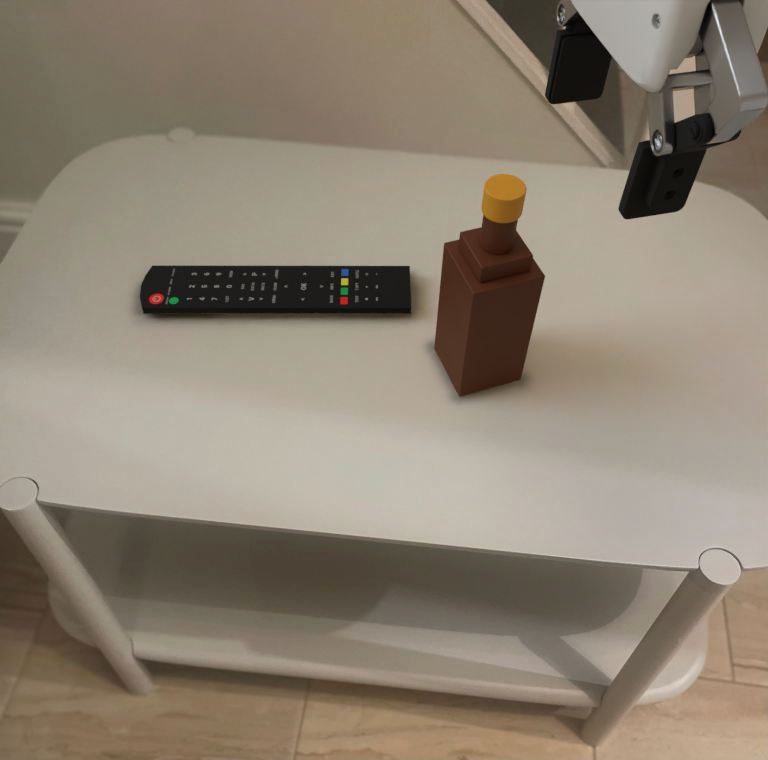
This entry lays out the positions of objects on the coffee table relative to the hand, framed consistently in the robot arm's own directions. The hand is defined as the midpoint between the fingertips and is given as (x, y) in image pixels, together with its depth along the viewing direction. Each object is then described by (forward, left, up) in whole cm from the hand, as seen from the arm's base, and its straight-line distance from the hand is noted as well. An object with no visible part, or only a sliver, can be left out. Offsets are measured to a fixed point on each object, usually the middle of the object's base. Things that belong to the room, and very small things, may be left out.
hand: (608, 151), depth 41 cm
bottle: (+9, 0, -27) cm, 28 cm away
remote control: (+22, +14, -27) cm, 38 cm away
